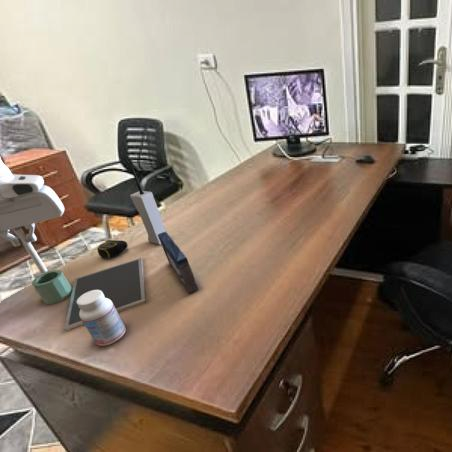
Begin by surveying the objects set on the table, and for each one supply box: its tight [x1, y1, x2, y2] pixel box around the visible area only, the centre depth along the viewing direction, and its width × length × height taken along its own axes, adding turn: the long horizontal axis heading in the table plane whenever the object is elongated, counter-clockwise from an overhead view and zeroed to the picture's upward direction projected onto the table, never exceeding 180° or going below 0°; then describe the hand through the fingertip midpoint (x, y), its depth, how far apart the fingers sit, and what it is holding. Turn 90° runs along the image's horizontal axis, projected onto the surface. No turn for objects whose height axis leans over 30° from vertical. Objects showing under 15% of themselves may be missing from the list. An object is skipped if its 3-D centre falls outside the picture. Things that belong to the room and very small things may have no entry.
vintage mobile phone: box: [130, 167, 167, 246], centre depth 106 cm, size 4×5×25 cm
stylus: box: [12, 227, 48, 274], centre depth 85 cm, size 1×1×13 cm
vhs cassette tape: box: [158, 231, 199, 294], centre depth 92 cm, size 18×3×10 cm, turn 36°
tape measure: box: [97, 239, 129, 259], centre depth 107 cm, size 7×7×4 cm
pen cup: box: [31, 269, 73, 305], centre depth 90 cm, size 6×6×6 cm
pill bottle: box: [77, 290, 127, 347], centre depth 74 cm, size 6×6×11 cm
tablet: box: [63, 257, 147, 332], centre depth 91 cm, size 17×22×1 cm
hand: (26, 242), depth 83 cm, fingers closed on stylus, 1 cm apart
